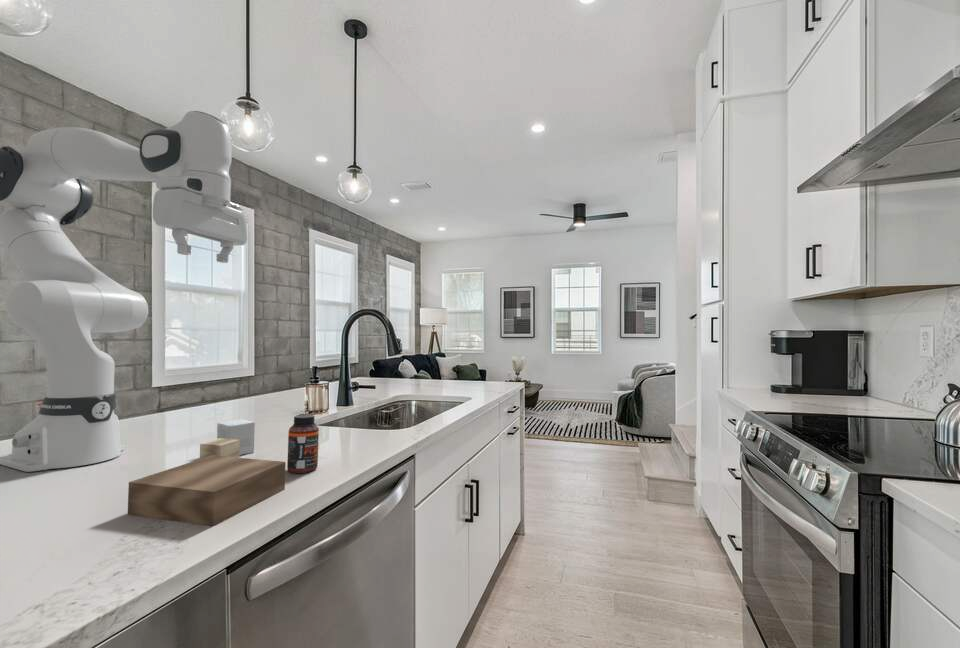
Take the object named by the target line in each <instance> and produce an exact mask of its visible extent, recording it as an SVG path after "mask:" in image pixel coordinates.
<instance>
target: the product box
mask: <svg viewBox="0 0 960 648" xmlns="http://www.w3.org/2000/svg"><path fill="white" fill-rule="evenodd" d="M255 424H256V422H255V421H250V420H247V419H243V418H241V419H239V418H238V419H234V420H229V421H221V422H218V423H217V424H216V425H217V426H216V433H217V434H216V439H219V438H224V439H236V440H240V449H239V456H242V455H247V454H253V453H255Z"/></svg>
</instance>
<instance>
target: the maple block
mask: <svg viewBox="0 0 960 648" xmlns="http://www.w3.org/2000/svg"><path fill="white" fill-rule="evenodd" d="M239 449H240V440H236V439H224V438H219V439H217V438H216V439H213V440H210V441H205V442H202V443H200V444H199V459H202V458H206V457H209V456H212V455H216V456H227V457H238V458H240V455H239Z"/></svg>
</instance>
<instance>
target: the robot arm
mask: <svg viewBox="0 0 960 648" xmlns="http://www.w3.org/2000/svg"><path fill="white" fill-rule="evenodd" d="M232 146H233V145H232V135H231V131H230V129H229V126H228V125H227V124H226V123H225V122H224V121H222V120H221V119H219V118H218V117H216V116H214V115H212V114H209V113H206V112H204V111H203V112H202V111H198V110H190V111H187V112H186V113H185V114H184V116H183V117H182V119H181V120H180V121H179V122H177V123H175V124H173V125H171V126H169V127H166V128H164V129H163V128H158V129H153V130H151V131H149V132H147V133H146V134H145V135H144V136H143V137H142V139H141V141H140V145H139V147H137V146H133V145H131V144H129V143H127V142H125V141H122V140H120V139H118V138H116V137H114V136H113V135H112V136H111V135H109V134H107V133H105V132H101V131H98V130H94V129H91V128H86V127H75V126H71V127H69V126H68V127H65V126H64V127H62V126H61V127H53V128H47V129H44V130H40V131H38V132H35V133H34V134H32V135H31V136H30V137H29V139H28V140H27V143H26V146H25V147H26V148H25V149H23V150H21V151H17V150H16V149H15V148H13V147H11V146H9V145H4V146H1V147H0V203H2V204H5V205H7V206H8V205H9V206H11V208H10V209H7V210H4V211H3V212H2V213H1V214H0V244H1V245H2V247H3V249H4V250H5V252H6V254H7V255H8V257H9V258H10V260H11V261H12V262H13V264H14V266H15V267H16V268H17V269H18V271H19V272H20V274H21V275H22V276H23V278H24V279H25V281H22V282H19V283H18V284H15V286H13V288H12V289H10V291H9V292H8V294H7V296H6V298H5V303H4V307H5V309H4V310H5V312H6V315H7V316H8V318H9V320H11V322H12V323H13V324H14V325H15V326H16V327H18V328H20V329H22V330H23V331H25V332H26V333H27V334H28V335H30V336H31V337H32V339H34V341H35V342H36V343H37V344H38V346H39V348H40V350H41V352H42V354H43V357H44V360H45V369H46V396H45V397H44V398H43V399H38V400H37V402H40V403H37V406H40V408H39V410H38V414H39V415H37V416H36V417H35V418H34V419H33V420H31V422H29V423H27V424H26V425H25V426H23V427H22V428H21V429H20V430H18V431H17V432H16V433H15V434H14V436H13V438H12V440H11V444H12V445H11V446H12V447H11V448H12V449H11V453H8V454H5V455H2V456H0V465H2V466H5V467H8V468H12V469H15V470H18V471H23V472H25V473H27V472H28V473H29V472H30V473H31V472H39V471H45V470H52V469H62V468H63V469H65V468H73V467H80V466H86V465H92V464H97V463H102V462H105V461H109V460H111V459H112V460H113V459H115V458H117V457H119V456H121V454H122V451H124V450H125V445H124V444H121V435H120V424H119V417H118V415H117V414H115V409H116V408H117V402H118V401H117V400H118V399H117V393H115V372H116V370H115V367H116V363H115V360H114V359H113V356H111V355H110V354H109V353H106V352H105V351H103V350H101V349H99V348H98V347H97V346H96V345H95V344H94V342H93V339H92V333H96V334H97V333H101V334H102V333H103V334H106V333H107V334H108V333H111V334H116V333H121V332H127V331H128V332H129V331H133V330H136V329H139V328H141V327H142V326H143V324H144V323H145V322H146V320H147V318H148V315H149V306H148V305H149V304H148V302H147V300H146V299H145V297H144V296H143V295H142V294H141V293H139V292H138V291H134V290H132V289H130V288H128V287H126V286H124V285H122V284H121V283H118V282H116V280H114V279H112V278H110V277H109V276H107V275H106V273H104V272H102V271H100V270H99V269H98V268H97V267H95V266H94V265H92V264H91V263H90V262H89V261H88V260H86V258H85V257H84V256H83V254H81V252H80V251H79V250H78V248H77V247H76V246H75V245H74V244H73V242H72V241H71V240H70V238H69V236H67V235H66V233H65V232H64V231H63V230H62V228H61V226H66V225H71V224H73V223H75V222H76V221H77V220H79V219H81V218H82V217H84V216H85V215H86V214H87V213H89V212H90V210H91V209H92V207H93V204H94V193H93V189H92V187H91V186H90V184H88V183H87V182H86V181H84V180H89V181H91V180H94V181H95V180H96V181H124V182H125V181H127V182H148V183H155V186H156V189H158V190H157V191H156V192H155V193H154V196H153V204H152V220H153V222H154V223H155V225H156V226H158V227H161V228H164V229H169V230H171V235H172V238H173V240H174V242H175V244H176V245H177V248H176V249H177V251H176V252H177V254H178V255H182V256H183V255H184V256H190V255H192V251H191V250H192V245H189V244H188V241H187V238H186V237H187V236H188V234H189V235H192V236H194V237H195V236H196V237H199V238H203V239H208V240H211V241H215V242H218V243H220V248H221V249H220V252H219V253H216V254H215V255H216V259H215V261H216V262H218V263H220V264H227V263H228V262H229V257H230V254H231V252H232V251H233V249H234V246H244V245H246V244H247V242H248V230H247V229H248V227H247V221H246V220H247V219H246V216H245V212H244V211H243V209H242V208H241V206H240V205H239V204H238V203H234V202H232V201H231V195H232V194H231V190H232V189H231V187H232V171H231V165H232V160H233V159H232V156H233V151H232V150H233V148H232Z"/></svg>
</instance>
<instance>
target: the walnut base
mask: <svg viewBox="0 0 960 648" xmlns="http://www.w3.org/2000/svg"><path fill="white" fill-rule="evenodd" d="M285 488H286V461H281V460H280V461H279V460H278V461H277V460H271V459H270V460H269V459H260V458H258V459H257V458H246V457H239V458H238V457H227V456H216V455H212V456H209V457H206V458H202V459H200V458H199V459H196V460H194V461H191V462H188V463H184V464H182V465H178V466H175V467H172V468H169V469H165V470H162V471H159V472H157V473H153V474H149V475H147V476H144V477H141V478H138V479H134V480H131V481H128V492H127V493H128V494H127V497H128V498H127V515H128V516H129V515H130V516H137V517H144V518H150V519H158V520H165V521H173V522H180V523H189V524H193V525H194V524H196V525H203V526H209V527H215V526H216V525H219V524H220V523H222V522H224V521H226V520H228V519H231V518H232V517H234V516H236V515H238V514H240V513H241V512H243V511H245V510H247V509H249V508H251V507H253V506H255V505H257V504H260V503H261V502H262V501H266V500H267V499H269V498H271V497H273V496H274V495H277V494H279V493H280V492H282V491H284V490H285Z"/></svg>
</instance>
